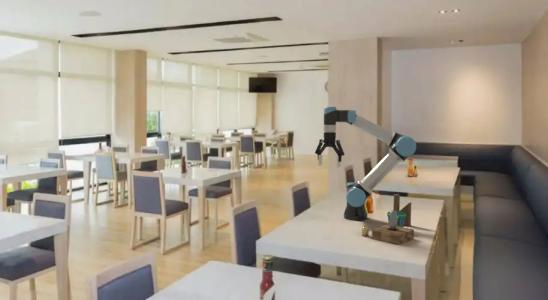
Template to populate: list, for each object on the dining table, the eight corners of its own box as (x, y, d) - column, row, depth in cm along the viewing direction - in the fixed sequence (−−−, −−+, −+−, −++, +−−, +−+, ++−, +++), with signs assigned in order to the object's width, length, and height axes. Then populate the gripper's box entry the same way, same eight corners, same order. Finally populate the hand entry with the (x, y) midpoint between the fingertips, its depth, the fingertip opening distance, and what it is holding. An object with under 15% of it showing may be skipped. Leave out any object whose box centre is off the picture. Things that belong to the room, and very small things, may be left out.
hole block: (386, 233, 252) (387, 224, 251) (413, 238, 241) (413, 229, 241) (371, 238, 240) (372, 229, 240) (399, 244, 229) (399, 235, 229)
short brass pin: (364, 234, 249) (364, 225, 249) (369, 235, 246) (369, 226, 246) (360, 235, 246) (360, 226, 246) (366, 237, 244) (366, 227, 243)
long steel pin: (391, 237, 243) (392, 210, 242) (397, 238, 241) (398, 211, 240) (388, 238, 240) (388, 211, 239) (394, 240, 238) (394, 212, 237)
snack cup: (403, 235, 248) (404, 216, 248) (384, 232, 253) (384, 215, 252) (407, 228, 263) (408, 211, 262) (389, 226, 267) (389, 209, 266)
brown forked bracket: (408, 226, 268) (409, 196, 267) (391, 223, 275) (392, 194, 274) (410, 225, 271) (411, 195, 269) (394, 222, 278) (395, 193, 276)
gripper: (309, 131, 281) (309, 165, 283) (343, 132, 265) (343, 168, 266) (316, 131, 287) (316, 164, 288) (350, 132, 270) (349, 167, 272)
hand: (329, 166), depth 277 cm, fingers open, 13 cm apart
